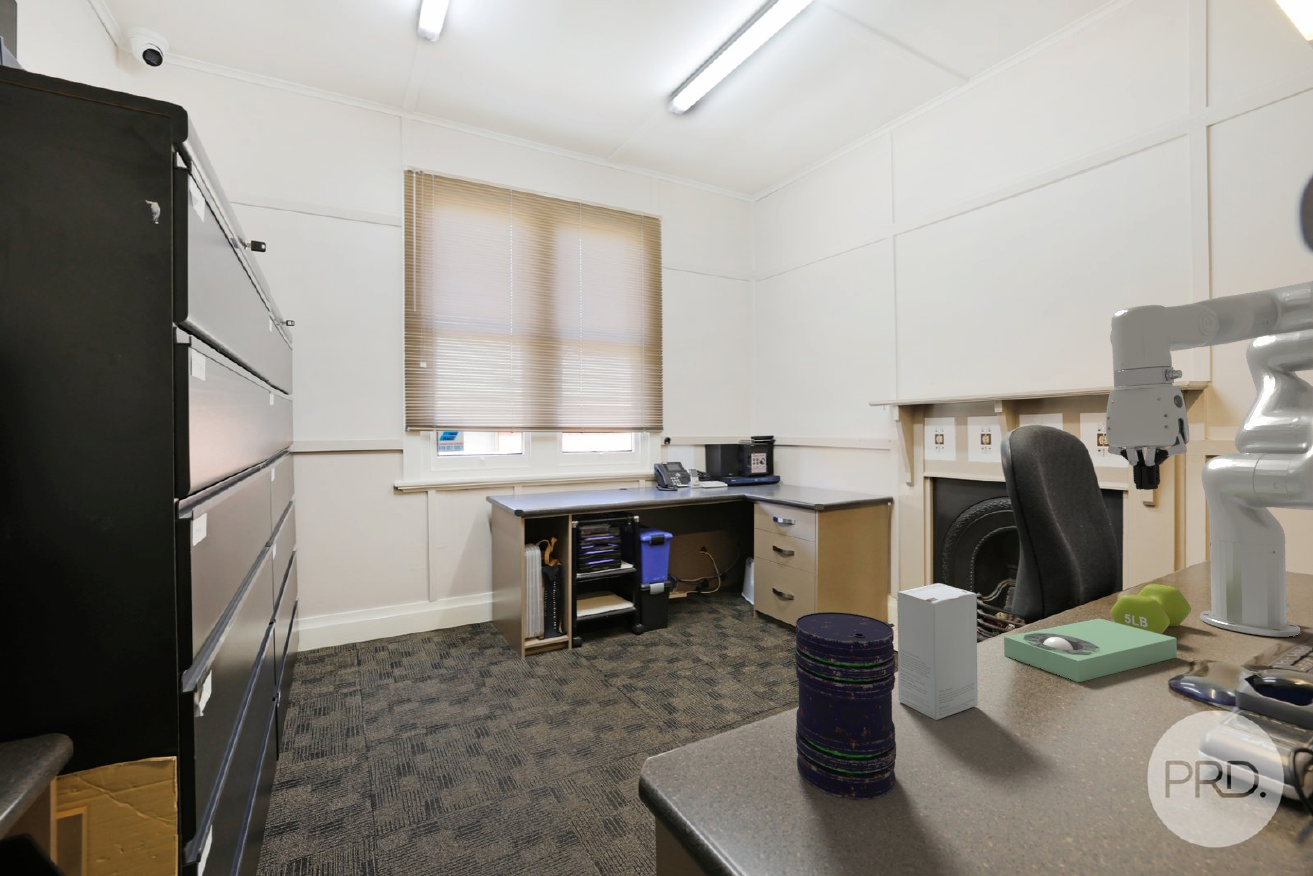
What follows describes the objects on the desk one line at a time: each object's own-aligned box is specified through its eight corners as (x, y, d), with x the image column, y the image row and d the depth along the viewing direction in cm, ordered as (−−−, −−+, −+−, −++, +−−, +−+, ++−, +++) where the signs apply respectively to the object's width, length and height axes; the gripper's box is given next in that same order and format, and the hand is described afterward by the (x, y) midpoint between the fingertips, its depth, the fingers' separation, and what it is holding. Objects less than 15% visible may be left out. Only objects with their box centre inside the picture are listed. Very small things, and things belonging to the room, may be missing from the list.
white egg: (1046, 664, 88) (1056, 642, 89) (1073, 673, 85) (1083, 650, 86) (1032, 650, 87) (1043, 628, 88) (1059, 659, 83) (1070, 636, 84)
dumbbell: (1139, 617, 110) (1138, 580, 110) (1194, 628, 103) (1194, 588, 103) (1107, 633, 100) (1106, 592, 101) (1165, 646, 94) (1164, 603, 94)
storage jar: (779, 751, 62) (778, 615, 62) (859, 740, 64) (858, 609, 65) (826, 807, 52) (825, 646, 53) (918, 792, 55) (917, 637, 55)
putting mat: (1099, 635, 99) (1099, 618, 99) (1176, 657, 89) (1176, 638, 89) (1004, 655, 90) (1004, 636, 90) (1078, 682, 80) (1078, 661, 80)
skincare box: (939, 690, 77) (937, 581, 78) (981, 708, 72) (979, 591, 72) (895, 702, 74) (894, 588, 74) (936, 723, 68) (934, 599, 68)
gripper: (1211, 375, 90) (1216, 490, 90) (1106, 385, 104) (1111, 485, 104) (1184, 375, 87) (1189, 494, 87) (1080, 385, 101) (1085, 487, 101)
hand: (1147, 488), depth 95 cm, fingers closed
